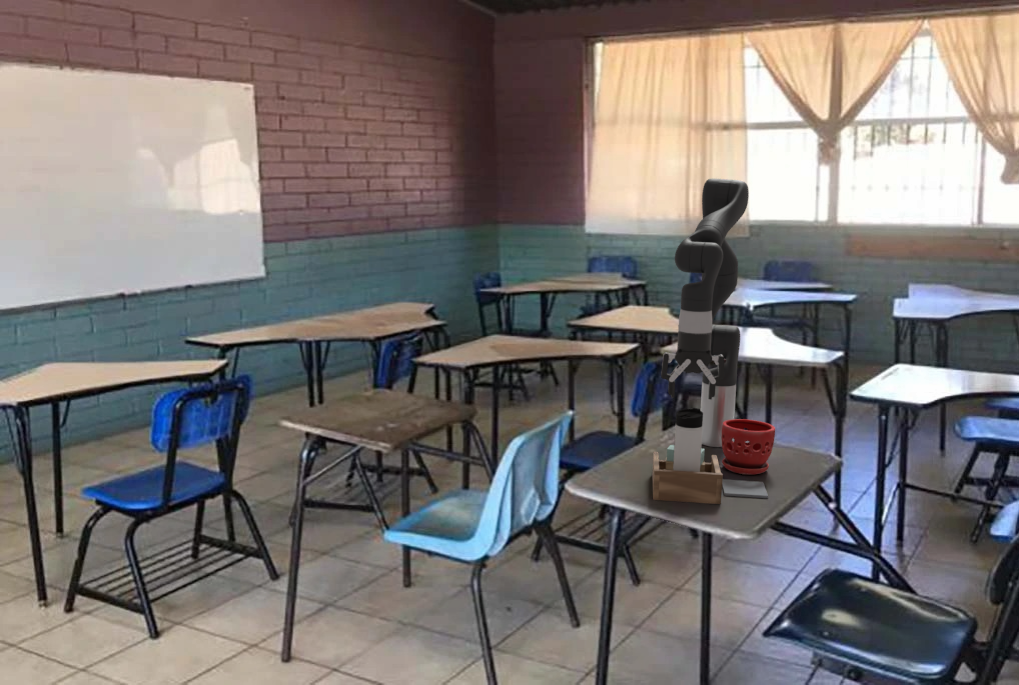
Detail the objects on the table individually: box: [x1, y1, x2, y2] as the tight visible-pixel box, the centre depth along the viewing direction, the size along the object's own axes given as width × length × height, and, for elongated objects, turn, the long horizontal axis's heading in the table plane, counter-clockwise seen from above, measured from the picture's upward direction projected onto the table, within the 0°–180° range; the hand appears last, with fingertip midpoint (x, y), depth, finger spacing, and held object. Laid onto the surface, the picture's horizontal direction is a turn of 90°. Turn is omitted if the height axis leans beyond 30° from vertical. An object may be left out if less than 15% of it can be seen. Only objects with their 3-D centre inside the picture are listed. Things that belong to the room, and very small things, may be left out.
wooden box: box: [651, 451, 724, 505], centre depth 230 cm, size 18×15×7 cm
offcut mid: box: [665, 457, 706, 472], centre depth 234 cm, size 4×9×3 cm, turn 82°
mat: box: [722, 478, 769, 499], centre depth 231 cm, size 10×10×1 cm
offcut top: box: [665, 444, 705, 465], centre depth 234 cm, size 4×8×3 cm, turn 68°
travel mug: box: [673, 407, 703, 472], centre depth 226 cm, size 6×7×20 cm
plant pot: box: [721, 418, 776, 476], centre depth 245 cm, size 13×13×12 cm
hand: (691, 397), depth 224 cm, fingers open, 8 cm apart
